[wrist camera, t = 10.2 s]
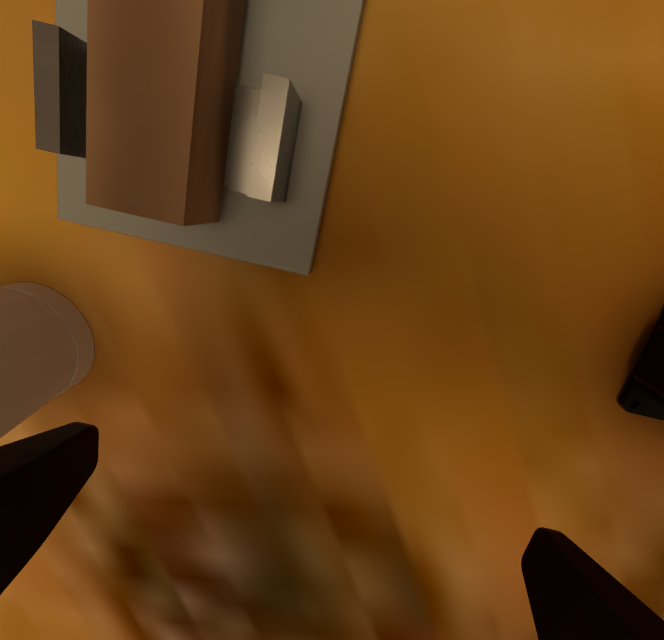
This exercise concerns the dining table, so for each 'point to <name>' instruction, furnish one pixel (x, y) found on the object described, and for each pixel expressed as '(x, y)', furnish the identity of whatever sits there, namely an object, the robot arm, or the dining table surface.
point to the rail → (160, 105)
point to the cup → (38, 349)
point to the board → (310, 150)
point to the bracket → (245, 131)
